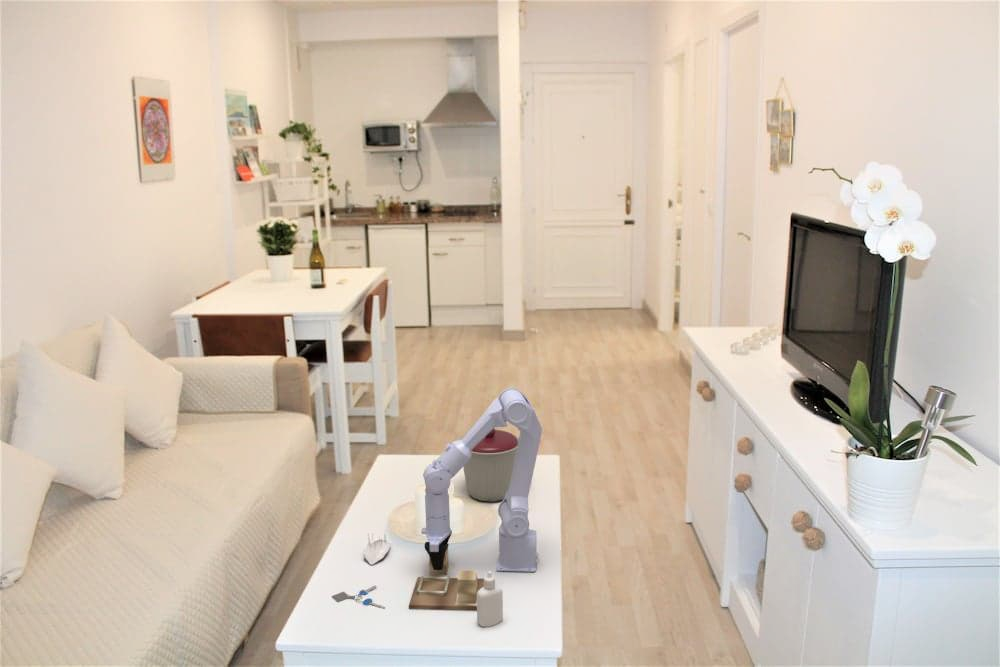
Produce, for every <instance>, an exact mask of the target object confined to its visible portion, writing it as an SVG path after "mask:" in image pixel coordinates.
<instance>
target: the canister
mask: <svg viewBox="0 0 1000 667" xmlns="http://www.w3.org/2000/svg"><path fill="white" fill-rule="evenodd" d="M495 428H496V427H495ZM495 428H494V429H493V430H492V431H490V432H489V433H488V434H487V435H486V436H485V437H484V438H483V439H482V440H481V441H480V442H479V443H478V444H477V445H476V446H475V447H474V448H473V449H472V451H471V454H472V457H471V459H470V460H469V461H468V462H467V463H466V464H465V465H464V466H463V467H462V469H463V473H464V479H465V485H466V486H465V487H466V490H467V492H468V494H469V495H470V496H471V497H472V498H473V499H476V500H477V499H478V500H477V501H481V502H489V503H490V502H497V501H503V500H504V497H505V493H506V492H507V491H508V489H509V484H510V480H511V475H512V470H513V465H514V460H515V455H516V450H517V445H518V441H519V437H518V436H517V435H514V434H513V433H511V432H508V431H505V430H501V429H495ZM464 437H465V435H464V436H462V437H461V438H460V439H459V440H462V439H463V438H464Z"/></svg>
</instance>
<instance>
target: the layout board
mask: <svg viewBox="0 0 1000 667" xmlns="http://www.w3.org/2000/svg"><path fill="white" fill-rule="evenodd" d="M482 587H484V578H478V570H463V569H462V570H459V571H458V576H457V577H450V576H417V578H416V581H415V584H414V587H413V589H412V590H413V591H412V594H411V597H410V601H409V603H408V609H409V610H437V611H438V610H440V611H473V612H474V611H475V612H477V592H478V591H479V590H480V589H481V588H482Z"/></svg>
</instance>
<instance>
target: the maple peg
mask: <svg viewBox="0 0 1000 667" xmlns="http://www.w3.org/2000/svg"><path fill="white" fill-rule="evenodd" d="M448 570H449V547H448V548H447V550H446V552H445V555H444V563H443V568H442V570H434V569H433V567H432V563H431V559H430V557H429V575H431V576H435V575H437V576H447V575H448Z"/></svg>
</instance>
